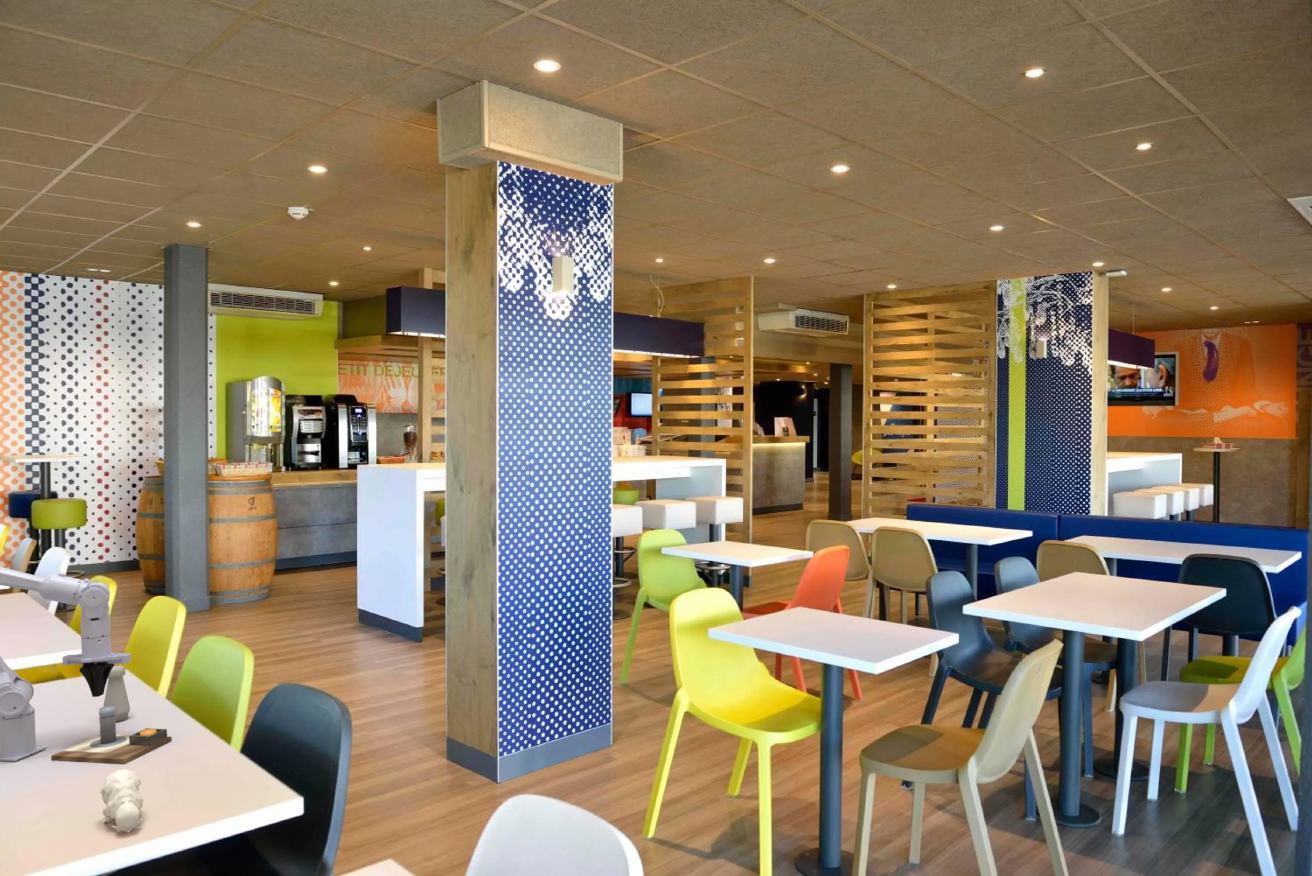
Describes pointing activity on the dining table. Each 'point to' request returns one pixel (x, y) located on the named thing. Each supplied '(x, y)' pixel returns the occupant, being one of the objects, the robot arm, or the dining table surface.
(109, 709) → the cylinder
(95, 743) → the board
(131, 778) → the white crouching figurine
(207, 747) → the dining table surface
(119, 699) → the salt shaker
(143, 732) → the button
